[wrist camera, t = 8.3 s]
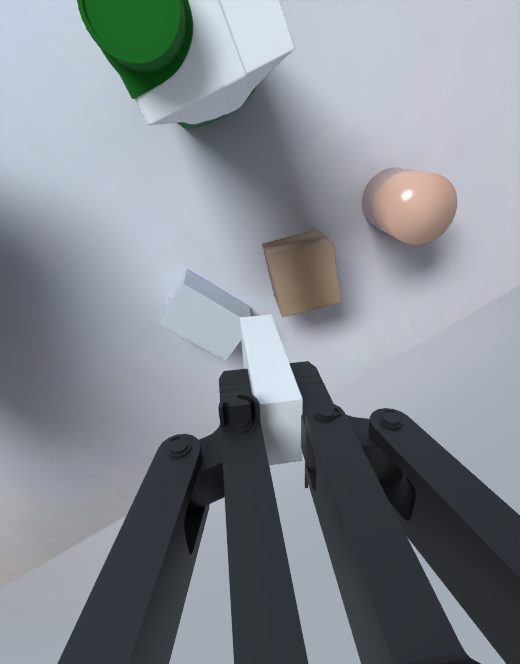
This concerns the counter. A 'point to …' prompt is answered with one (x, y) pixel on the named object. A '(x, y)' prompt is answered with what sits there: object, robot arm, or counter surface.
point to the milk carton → (189, 52)
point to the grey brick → (204, 315)
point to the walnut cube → (302, 272)
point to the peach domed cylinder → (410, 204)
